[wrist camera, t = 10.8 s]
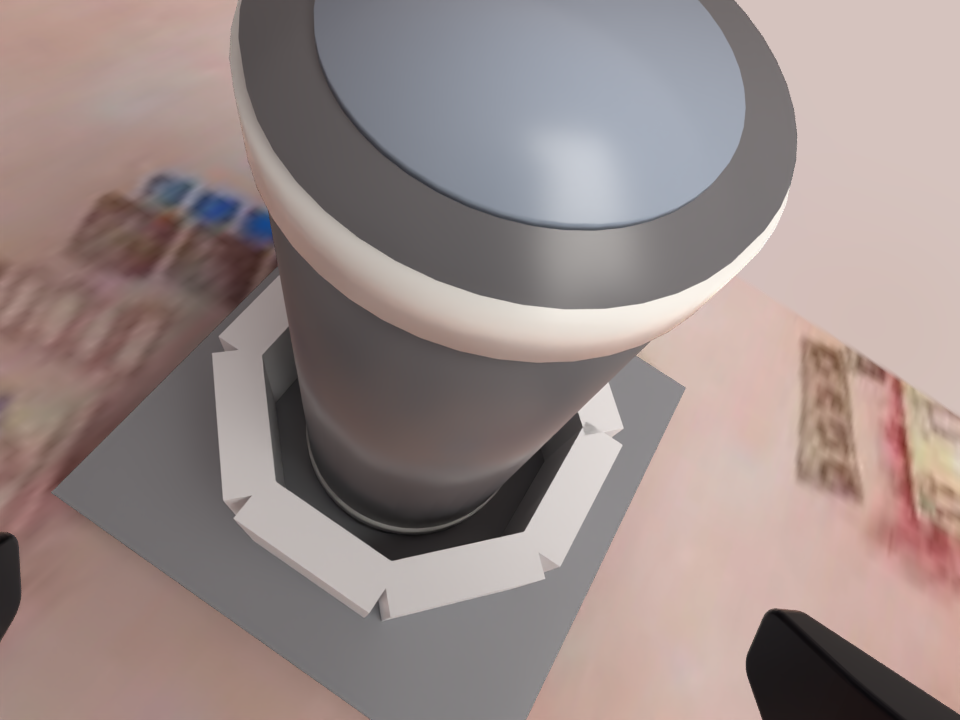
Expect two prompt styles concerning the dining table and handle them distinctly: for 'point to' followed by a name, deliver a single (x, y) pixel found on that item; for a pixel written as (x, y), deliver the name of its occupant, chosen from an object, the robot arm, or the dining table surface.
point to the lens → (494, 216)
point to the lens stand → (365, 530)
